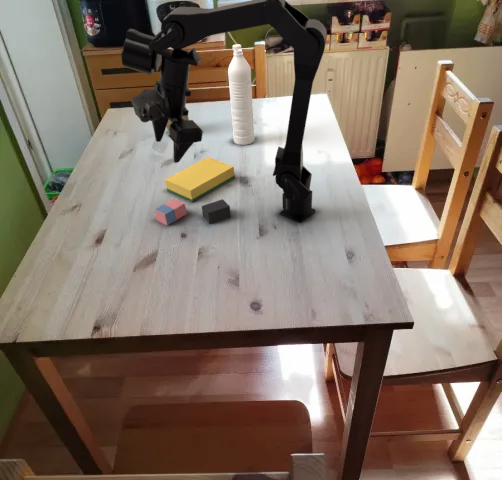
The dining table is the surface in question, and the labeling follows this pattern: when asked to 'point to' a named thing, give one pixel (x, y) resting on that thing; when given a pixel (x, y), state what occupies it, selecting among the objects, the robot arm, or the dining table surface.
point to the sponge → (200, 179)
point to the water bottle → (241, 98)
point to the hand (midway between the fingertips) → (167, 151)
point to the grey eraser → (216, 211)
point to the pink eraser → (170, 211)
